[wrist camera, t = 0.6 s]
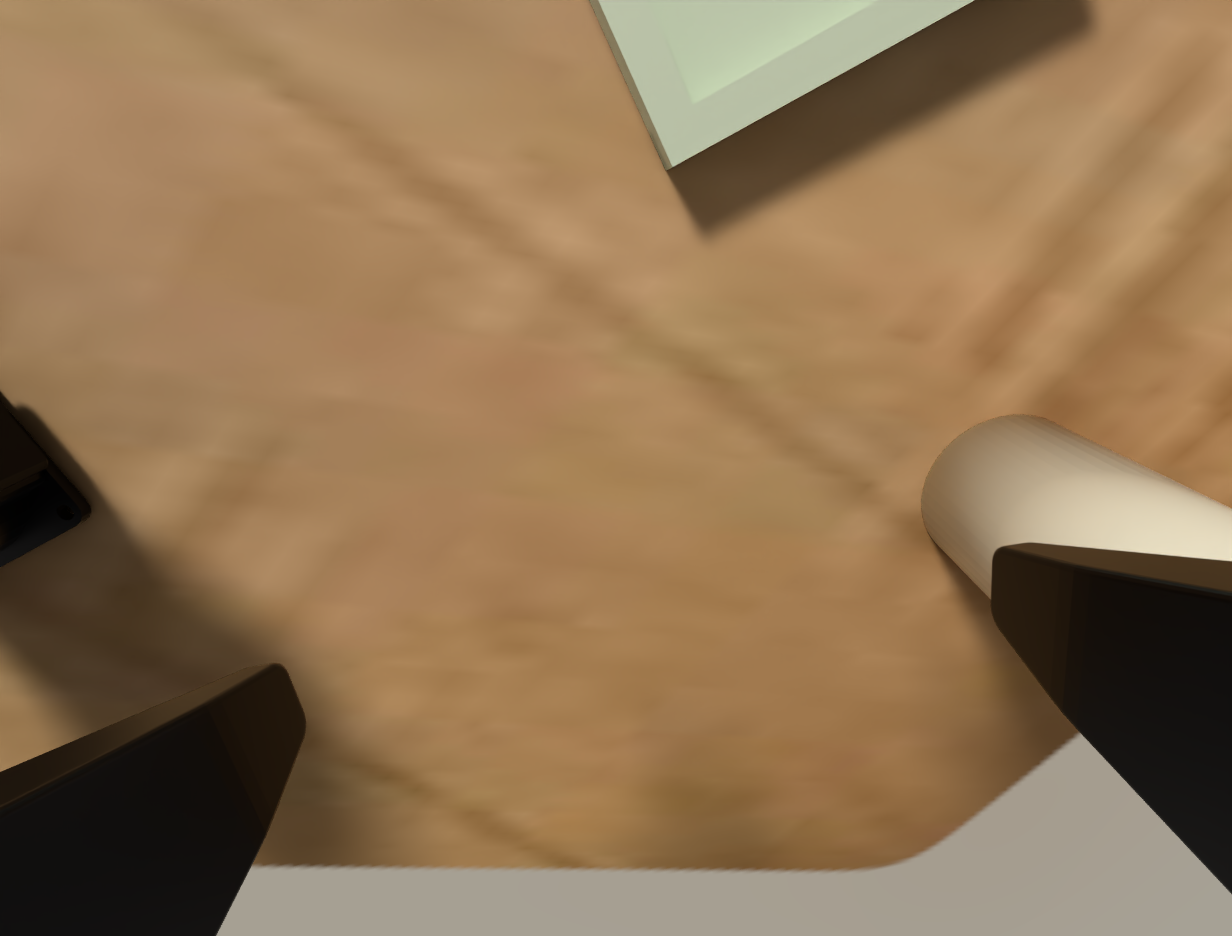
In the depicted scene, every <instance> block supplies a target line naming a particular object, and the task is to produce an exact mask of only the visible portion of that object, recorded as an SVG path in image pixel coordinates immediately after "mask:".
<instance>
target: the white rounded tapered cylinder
mask: <svg viewBox="0 0 1232 936" xmlns="http://www.w3.org/2000/svg"><path fill="white" fill-rule="evenodd" d="M921 509H922V517H923V520H924V524H925V527H926V529H927V531H928V533H929V535H930V536H931V538H932V539H933V540H934V542H935V543H936V544H937V545H938V546H939V547H940V548H941V549H942V550H943V551H944V552H945V553H946V554H947V555H948V556H949V557H950V558H951V559H952V560H953V561H954V562H955V563H956V564H957V565H958V566H959V567H960V569H961V570H962V571H963V572H964V573H965V574H966V575H967V576H968V577H969V578H970V579H971V580H972V581H973V582H974V583H975V584H976V585H977V586H978V587H979V588H980V589H981V590H982V591H983V592H984V593H985V594H986V595H987V596H988V597H989V598H990V599H991V576H992V558H993V554H994V552H995V551H996V549H997V548H999V547H1002V546H1006V545H1013V544H1019V543H1027V542H1034V543H1045V544H1055V545H1066V546H1076V547H1087V548H1097V549H1108V550H1119V551H1129V552H1140V553H1150V554H1161V555H1171V556H1182V557H1193V558H1203V559H1214V560H1224V561H1232V509H1231V508H1229V507H1227V506H1225V505H1223V504H1221V503H1219V502H1217V501H1215V500H1213V499H1211V498H1209V497H1207V496H1205V495H1203V494H1201V493H1199V492H1196V491H1194V490H1192V489H1190V488H1188V487H1186V486H1184V485H1182V484H1180V483H1178V482H1176V481H1174V480H1172V479H1170V478H1168V477H1166V476H1164V475H1162V474H1159V473H1157V472H1155V471H1153V470H1151V469H1149V468H1147V467H1145V466H1143V465H1141V464H1139V463H1137V462H1135V461H1133V460H1131V459H1129V458H1127V457H1124V456H1122V455H1120V454H1118V453H1116V452H1114V451H1112V450H1110V449H1108V448H1106V447H1104V446H1102V445H1100V444H1098V443H1096V442H1094V441H1092V440H1089V439H1087V438H1085V437H1083V436H1081V435H1079V434H1077V433H1075V432H1073V431H1071V430H1069V429H1067V428H1065V427H1063V426H1061V425H1059V424H1057V423H1055V422H1052V421H1050V420H1047V419H1045V418H1042V417H1038V416H1033V415H1024V414H1023V415H1007V416H1001V417H997V418H993V419H990V420H987V421H985V422H982V423H980V424H978V425H976V426H974V427H972V428H970V429H968V430H967V431H965V432H964V433H962V434H961V435H959V436H958V437H957V438H956V439H955V440H953V441H952V442H951V443H950V444H949V445H948V446H947V447H946V448H945V449H944V450H943V451H942V453H941V454H940V455H939V457H938V458H937V459H936V460H935V462H934V464H933V466H932V467H931V469H930V471H929V473H928V476H927V478H926V480H925V484H924V487H923V492H922V499H921Z"/></svg>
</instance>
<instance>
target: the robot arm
mask: <svg viewBox="0 0 1232 936" xmlns="http://www.w3.org/2000/svg"><path fill="white" fill-rule="evenodd" d="M66 506H68V507H70V508H71V509H72V511H73V513H74V514H72V513H70V512H69V511H68V510H67V508H66ZM90 513H91V508H90V505H89V503H88V502H87V500H86V499H85V498H84V497H83V496H82V494H81V493H80V492H79V491H78V490H77V489H76V488H75V486H74V485H73V484H72V483H71V482H70V481H69V479H68V478H67V477H66V476H65V475H64V474H63V473H62V471H61V470H60V469H59V468H58V467H57V466H56V464H55V463H54V462H53V461H52V460H51V459H50V458H49V456H48V455H47V454H46V453H45V452H44V451H43V449H42V448H41V447H40V446H39V445H38V444H37V443H36V441H35V440H34V439H33V438H32V437H31V436H30V434H29V433H28V432H27V431H26V430H25V429H24V428H23V426H22V425H21V424H20V423H19V422H18V421H17V419H16V418H15V417H14V416H13V415H12V414H11V413H10V411H9V410H8V409H7V408H6V407H5V406H4V404H3V403H2V402H1V401H0V567H1V566H3V565H5V564H7V563H9V562H11V561H13V560H14V559H16V558H18V557H20V556H22V555H24V554H25V553H27V552H29V551H31V550H33V549H35V548H36V547H38V546H40V545H42V544H44V543H46V542H47V541H49V540H51V539H53V538H55V537H57V536H58V535H60V534H62V533H64V532H66V531H68V530H69V529H71V528H73V527H75V526H77V525H78V524H80V523H82V522H83V521H85V520H86V519H87V518H88V517H90ZM991 611H992V615H993V618H994V621H995V623H996V625H997V627H998V628H999V630H1000V631H1001V633H1002V634H1003V635H1004V637H1005V638H1006V639H1007V641H1008V642H1009V643H1010V645H1011V646H1012V647H1013V649H1014V650H1015V651H1016V653H1017V654H1018V655H1019V657H1020V658H1021V659H1022V661H1023V662H1024V663H1025V665H1026V666H1027V667H1028V669H1029V670H1030V671H1031V673H1032V674H1033V675H1034V677H1035V678H1036V679H1037V681H1038V682H1039V683H1040V685H1041V686H1042V687H1043V689H1044V690H1045V691H1046V693H1047V694H1048V695H1049V697H1050V698H1051V699H1052V700H1053V702H1054V703H1055V704H1056V705H1057V707H1058V708H1059V709H1060V710H1061V712H1062V713H1063V714H1064V715H1065V716H1066V717H1067V719H1068V720H1069V721H1070V722H1071V723H1072V724H1073V725H1074V726H1075V727H1076V729H1077V730H1078V731H1079V732H1080V733H1081V734H1082V735H1083V736H1084V737H1085V738H1086V739H1087V740H1088V741H1089V742H1090V744H1091V745H1092V746H1093V747H1094V748H1095V749H1096V750H1097V751H1098V752H1099V753H1100V754H1101V755H1102V756H1103V757H1104V758H1105V759H1106V761H1108V763H1109V764H1110V765H1111V766H1112V767H1113V768H1114V769H1115V770H1116V771H1117V772H1118V773H1119V774H1120V776H1121V777H1122V778H1123V779H1124V780H1125V781H1126V782H1127V783H1128V784H1129V785H1130V786H1131V787H1132V788H1133V789H1134V790H1135V792H1136V793H1137V794H1138V795H1139V796H1140V797H1141V798H1142V799H1143V800H1144V801H1145V802H1146V803H1147V804H1148V805H1149V806H1150V808H1151V809H1152V810H1153V811H1154V812H1155V813H1156V814H1157V815H1158V816H1159V817H1160V818H1161V819H1162V820H1163V821H1164V822H1165V823H1166V825H1167V826H1168V827H1169V828H1170V829H1171V830H1172V831H1173V832H1174V833H1175V834H1176V835H1177V836H1178V837H1179V838H1180V839H1181V841H1183V843H1184V844H1185V845H1186V846H1187V847H1188V848H1189V849H1190V850H1191V851H1192V852H1193V853H1194V854H1195V855H1196V857H1197V858H1198V859H1199V860H1200V861H1201V862H1202V863H1203V864H1204V865H1205V866H1206V867H1207V868H1208V869H1209V870H1210V871H1211V872H1212V874H1213V875H1214V876H1215V877H1216V878H1217V879H1218V880H1219V881H1220V882H1221V883H1222V884H1223V885H1224V886H1225V887H1226V889H1227V890H1228V891H1229V892H1230V893H1231V894H1232V561H1224V560H1214V559H1203V558H1193V557H1182V556H1171V555H1161V554H1150V553H1140V552H1129V551H1119V550H1108V549H1097V548H1087V547H1076V546H1066V545H1055V544H1045V543H1034V542H1027V543H1019V544H1013V545H1006V546H1002V547H999V548H997V549H996V551H995V552H994V554H993V558H992V576H991ZM305 730H306V719H305V714H304V711H303V708H302V706H301V703H300V701H299V698H298V696H297V693H296V691H295V689H294V686H293V684H292V681H291V679H290V676H289V674H288V672H287V670H286V669H285V667H284V666H282V665H281V664H279V663H270V664H264V665H258V666H252V667H248V668H245V669H243V670H240V671H238V672H236V673H233V674H231V675H228V676H226V677H224V678H221V679H219V680H217V681H214V682H212V683H210V684H207V685H205V686H202V687H200V688H198V689H195V690H193V691H191V692H188V693H186V694H184V695H181V696H179V697H176V698H174V699H172V700H169V701H167V702H165V703H162V704H160V705H158V706H155V707H153V708H150V709H148V710H146V711H143V712H141V713H139V714H136V715H134V716H132V717H129V718H127V719H124V720H122V721H120V722H117V723H115V724H113V725H110V726H108V727H105V728H103V729H101V730H98V731H96V732H94V733H91V734H89V735H87V736H84V737H82V738H79V739H77V740H75V741H72V742H70V743H68V744H65V745H63V746H61V747H58V748H56V749H53V750H51V751H49V752H46V753H44V754H42V755H39V756H37V757H35V758H32V759H30V760H27V761H25V762H23V763H20V764H18V765H16V766H13V767H11V768H9V769H6V770H4V771H1V772H0V936H216V935H217V933H218V931H219V929H220V927H221V925H222V923H223V921H224V919H225V917H226V915H227V913H228V911H229V909H230V907H231V905H232V903H233V901H234V899H235V897H236V895H237V893H238V891H239V889H240V887H241V885H242V884H243V882H244V880H245V878H246V876H247V873H248V872H249V870H250V868H251V866H252V864H253V862H254V860H255V858H256V856H257V854H258V852H259V850H260V847H261V845H262V843H263V841H264V839H265V837H266V835H267V832H268V830H269V827H270V825H271V823H272V820H273V818H274V815H275V813H276V810H277V807H278V805H279V802H280V800H281V797H282V794H283V792H284V789H285V786H286V784H287V781H288V779H289V776H290V773H291V771H292V768H293V765H294V763H295V760H296V758H297V755H298V752H299V750H300V747H301V744H302V742H303V739H304V736H305Z"/></svg>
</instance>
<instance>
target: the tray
mask: <svg viewBox="0 0 1232 936" xmlns="http://www.w3.org/2000/svg"><path fill="white" fill-rule="evenodd" d="M589 1H590V3H591V5H592V8H593V10H594V12H595V14H596V16H597V19H598V21H599V23H600V25H601V28H602V30H603V32H604V34H605V36H606V39H607V41H608V43H609V45H610V48H611V50H612V52H613V54H614V57H615V59H616V61H617V63H618V65H619V68H620V70H621V72H622V74H623V77H624V79H625V81H626V83H627V85H628V88H629V90H630V92H631V94H632V97H633V99H634V101H635V103H636V105H637V108H638V110H639V112H640V114H641V117H642V119H643V121H644V123H645V125H646V128H647V130H648V132H649V134H650V137H651V139H652V141H653V143H654V146H655V148H656V150H657V152H658V154H659V157H660V159H661V161H662V163H663V166H664V168H665V170H668V169H670V168H672V167H674V166H675V165H677V164H679V163H681V162H683V161H685V160H686V159H688V158H690V157H692V156H694V155H695V154H697V153H699V152H701V151H703V150H704V149H706V148H708V147H710V146H712V145H714V144H715V143H717V142H719V141H721V140H723V139H724V138H726V137H728V136H730V135H732V134H733V133H735V132H737V131H739V130H741V129H742V128H744V127H746V126H748V125H750V124H752V123H753V122H755V121H757V120H759V119H761V118H762V117H764V116H766V115H768V114H770V113H771V112H773V111H775V110H777V109H779V108H780V107H782V106H784V105H786V104H788V103H790V102H791V101H793V100H795V99H797V98H799V97H800V96H802V95H804V94H806V93H808V92H809V91H811V90H813V89H815V88H817V87H818V86H820V85H822V84H824V83H826V82H828V81H829V80H831V79H833V78H835V77H837V76H838V75H840V74H842V73H844V72H846V71H847V70H849V69H851V68H853V67H855V66H856V65H858V64H860V63H862V62H864V61H866V60H867V59H869V58H871V57H873V56H875V55H876V54H878V53H880V52H882V51H884V50H885V49H887V48H889V47H891V46H893V45H894V44H896V43H898V42H900V41H902V40H904V39H905V38H907V37H909V36H911V35H913V34H914V33H916V32H918V31H920V30H922V29H923V28H925V27H927V26H929V25H931V24H932V23H934V22H936V21H938V20H940V19H942V18H943V17H945V16H947V15H949V14H951V13H952V12H954V11H956V10H958V9H960V8H961V7H963V6H965V5H967V4H969V3H970V2H972V1H974V0H589Z"/></svg>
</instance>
